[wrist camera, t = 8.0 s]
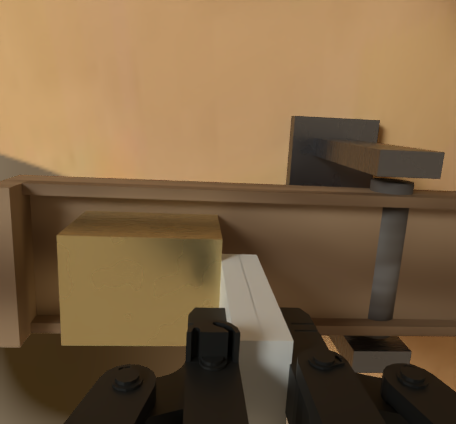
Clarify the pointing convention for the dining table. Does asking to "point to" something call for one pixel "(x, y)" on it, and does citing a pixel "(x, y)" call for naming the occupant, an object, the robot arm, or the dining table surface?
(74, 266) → the block
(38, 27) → the dining table surface
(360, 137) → the beam stand
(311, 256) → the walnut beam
